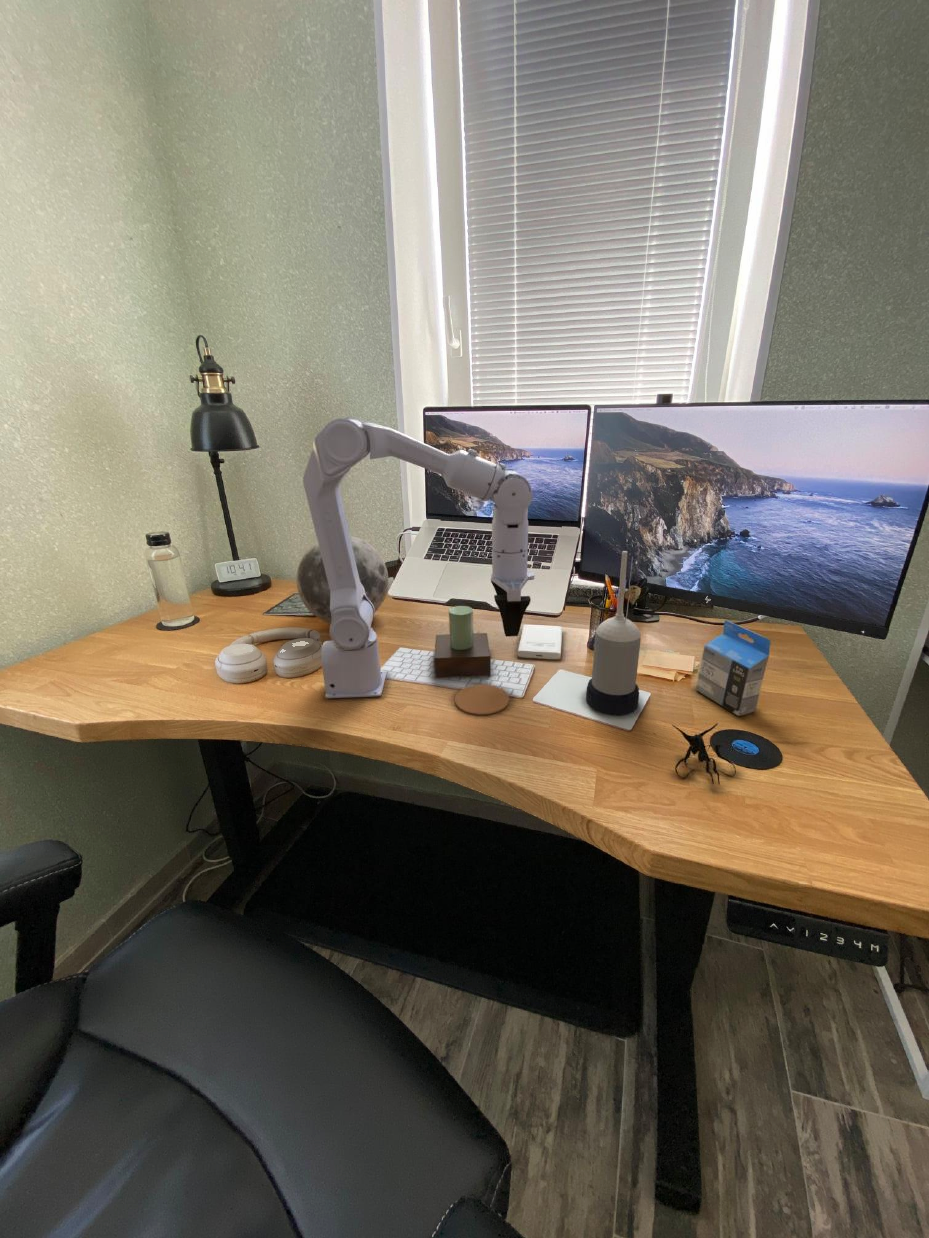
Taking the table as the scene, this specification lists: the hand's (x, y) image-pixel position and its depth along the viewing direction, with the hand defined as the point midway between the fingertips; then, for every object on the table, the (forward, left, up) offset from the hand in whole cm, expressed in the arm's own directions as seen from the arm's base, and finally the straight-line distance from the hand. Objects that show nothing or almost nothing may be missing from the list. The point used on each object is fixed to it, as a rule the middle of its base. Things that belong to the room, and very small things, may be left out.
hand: (509, 626), depth 86 cm
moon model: (-34, +29, -10) cm, 46 cm away
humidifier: (+16, -9, -10) cm, 21 cm away
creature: (+23, -26, -10) cm, 36 cm away
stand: (-8, +6, -10) cm, 14 cm away
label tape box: (+34, -10, -10) cm, 37 cm away
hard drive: (+8, +13, -10) cm, 18 cm away
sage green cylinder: (-8, +6, -6) cm, 12 cm away
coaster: (-5, -7, -10) cm, 13 cm away
